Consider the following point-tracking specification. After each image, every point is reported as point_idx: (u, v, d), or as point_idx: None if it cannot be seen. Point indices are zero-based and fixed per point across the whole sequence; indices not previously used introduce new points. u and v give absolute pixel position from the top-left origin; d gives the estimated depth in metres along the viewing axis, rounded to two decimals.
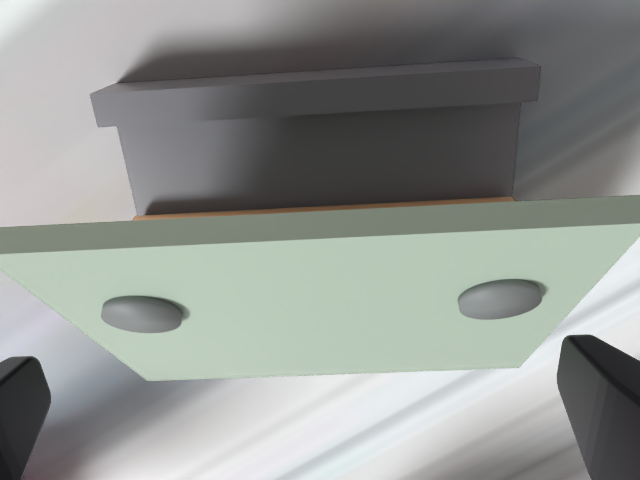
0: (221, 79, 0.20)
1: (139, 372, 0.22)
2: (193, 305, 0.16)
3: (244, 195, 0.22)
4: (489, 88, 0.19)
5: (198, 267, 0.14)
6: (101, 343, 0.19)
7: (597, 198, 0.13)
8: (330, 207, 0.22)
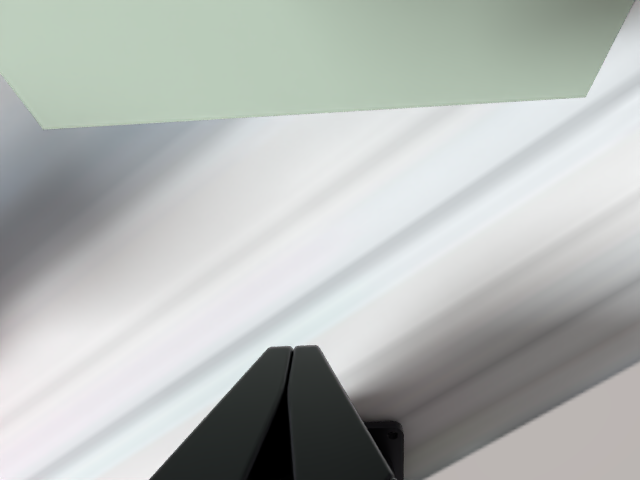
0: None
1: (23, 96, 0.15)
2: None
3: None
4: None
5: None
6: None
7: None
8: None
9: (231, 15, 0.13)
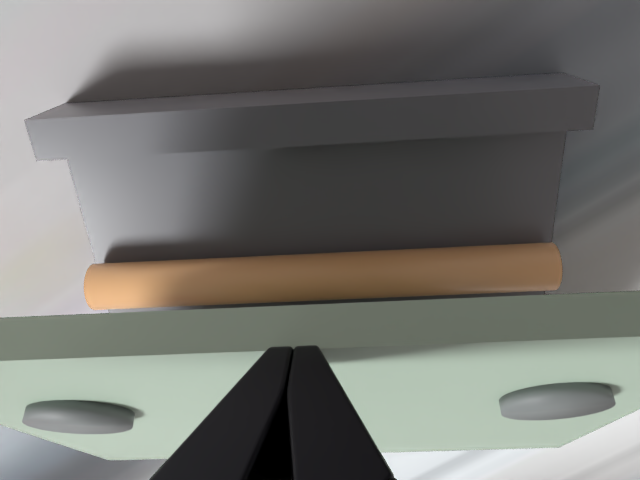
0: (193, 99, 0.16)
1: (96, 455, 0.18)
2: (147, 407, 0.12)
3: (224, 239, 0.18)
4: (532, 113, 0.15)
5: (143, 376, 0.10)
6: (38, 436, 0.15)
7: None
8: (329, 255, 0.18)
9: None
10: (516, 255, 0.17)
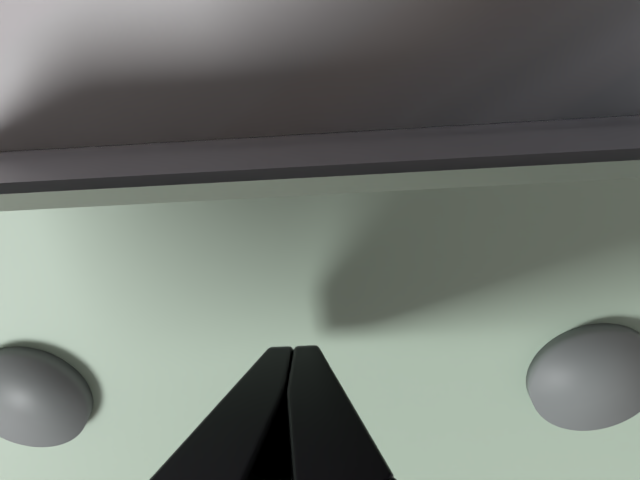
0: (136, 153, 0.12)
1: None
2: (111, 380, 0.10)
3: None
4: None
5: (122, 268, 0.09)
6: None
7: None
8: None
9: None
10: None
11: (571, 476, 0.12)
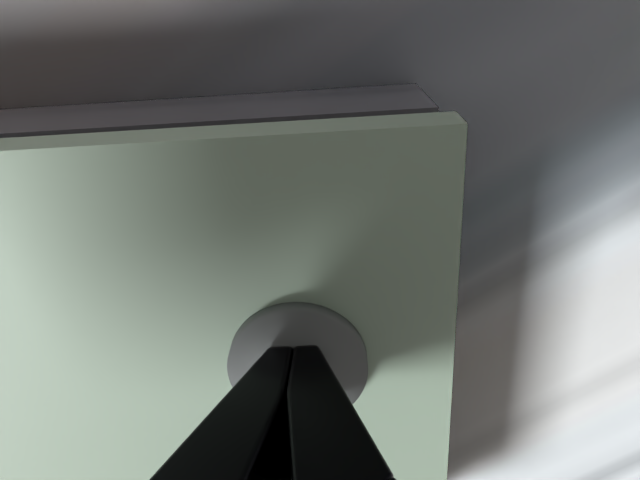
0: None
1: None
2: None
3: None
4: None
5: None
6: None
7: (387, 118, 0.08)
8: None
9: None
10: None
11: None
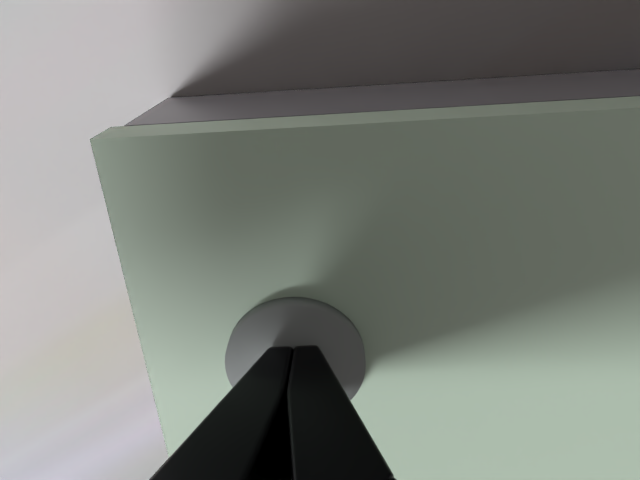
0: (394, 91, 0.10)
1: None
2: (392, 339, 0.09)
3: None
4: None
5: (446, 198, 0.08)
6: None
7: None
8: None
9: None
10: None
11: None
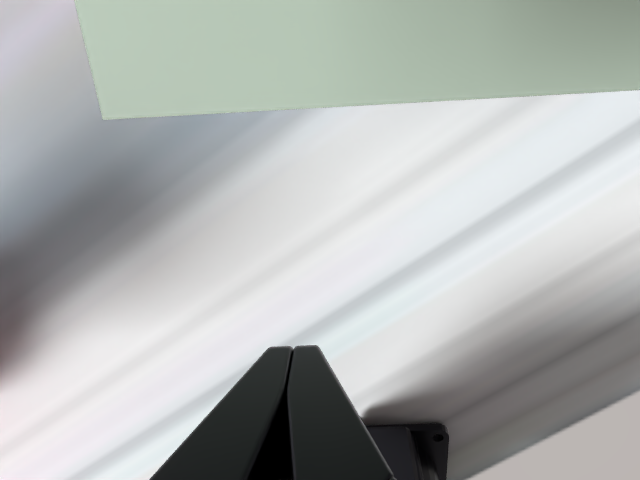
0: None
1: (96, 70, 0.15)
2: None
3: None
4: None
5: None
6: None
7: None
8: None
9: None
10: None
11: None
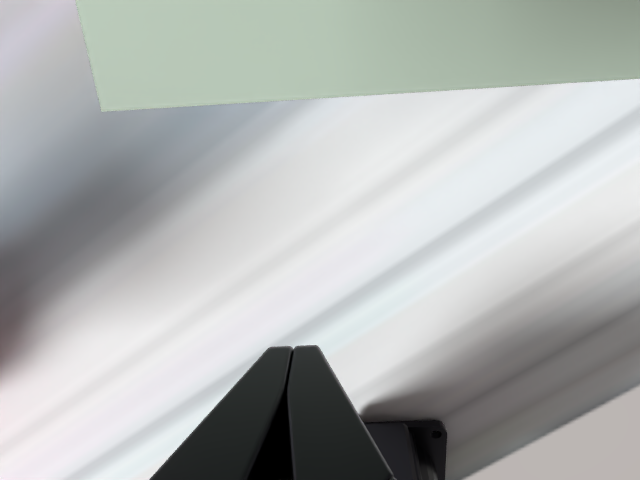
0: None
1: (95, 63, 0.15)
2: None
3: None
4: None
5: None
6: None
7: None
8: None
9: None
10: None
11: None
